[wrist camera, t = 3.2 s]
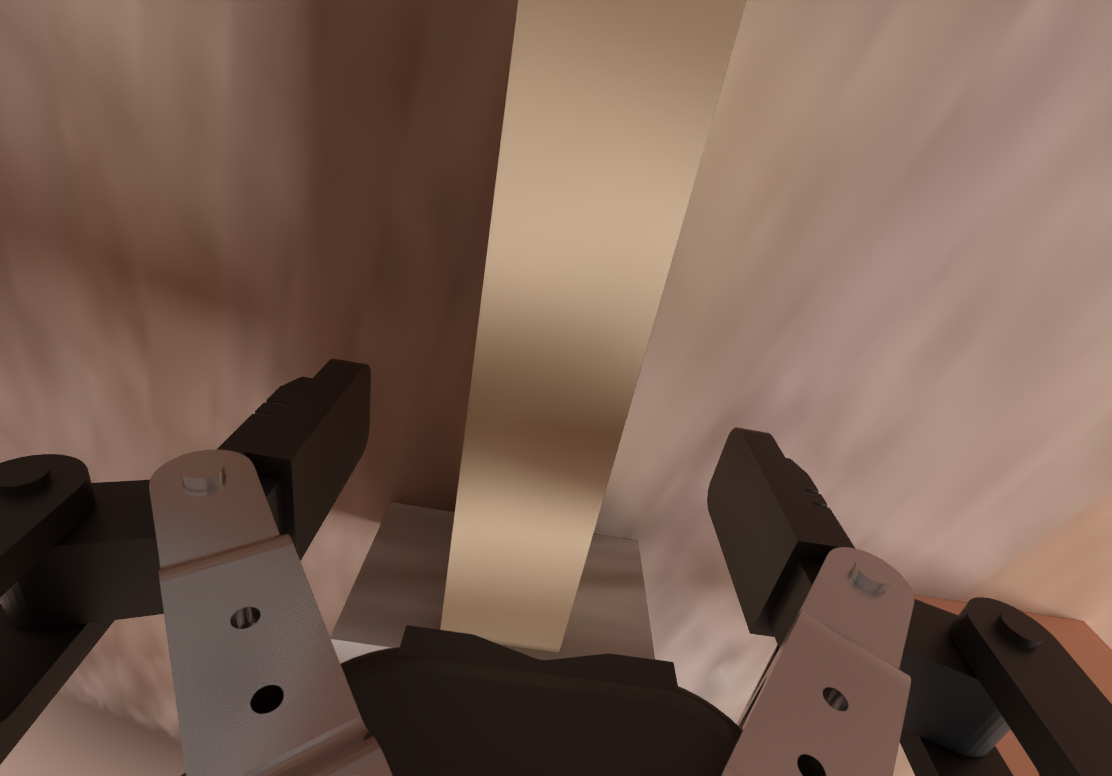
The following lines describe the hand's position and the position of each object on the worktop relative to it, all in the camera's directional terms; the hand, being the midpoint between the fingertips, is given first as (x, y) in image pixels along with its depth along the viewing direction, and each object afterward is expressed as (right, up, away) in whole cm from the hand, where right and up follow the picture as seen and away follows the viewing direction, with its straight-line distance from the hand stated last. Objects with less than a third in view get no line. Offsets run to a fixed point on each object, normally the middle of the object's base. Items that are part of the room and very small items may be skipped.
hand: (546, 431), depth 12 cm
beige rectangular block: (0, +2, +3) cm, 3 cm away
